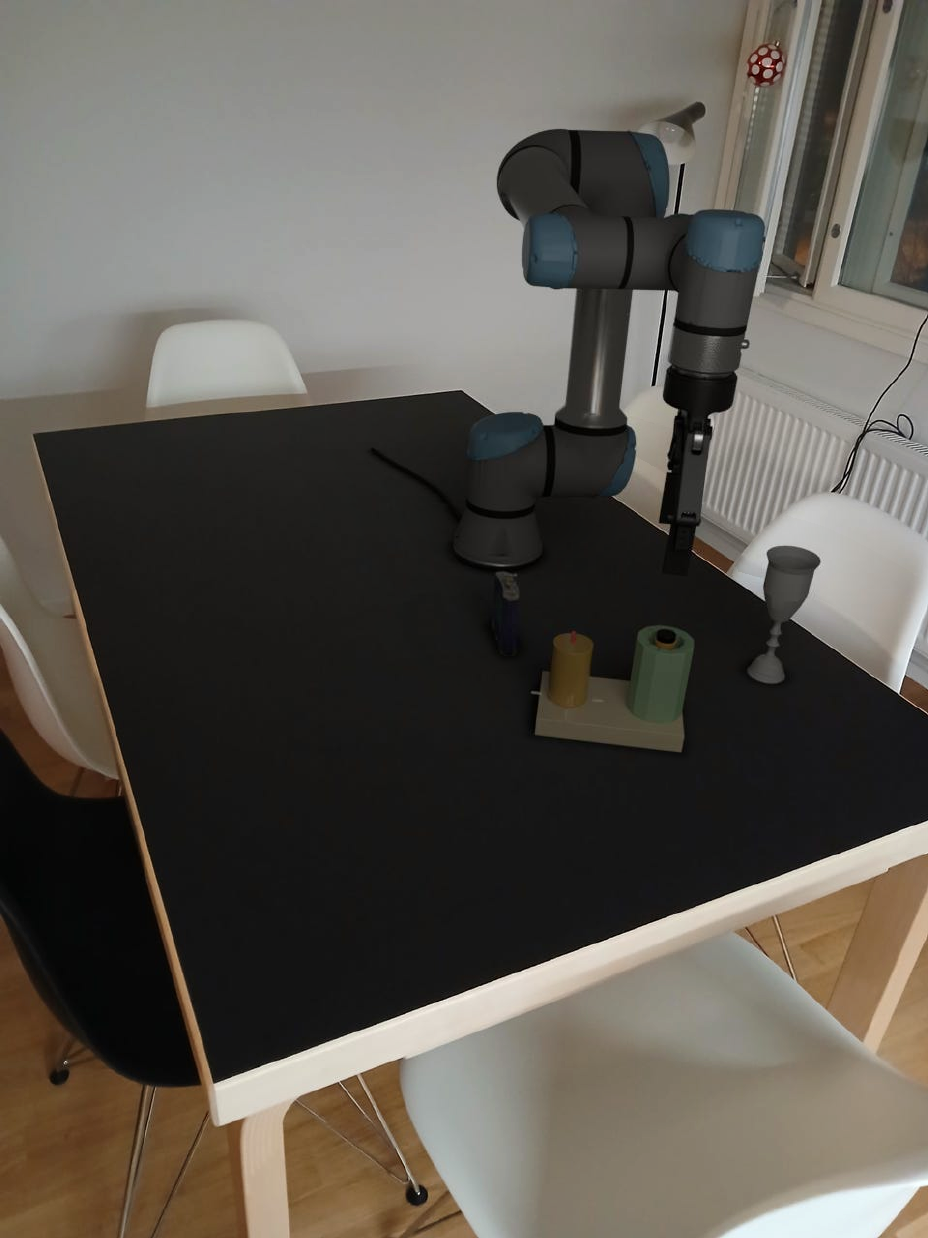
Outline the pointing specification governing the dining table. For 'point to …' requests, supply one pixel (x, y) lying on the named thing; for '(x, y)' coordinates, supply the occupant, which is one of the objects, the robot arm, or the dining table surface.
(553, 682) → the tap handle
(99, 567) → the dining table surface
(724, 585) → the dining table surface
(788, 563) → the chalice
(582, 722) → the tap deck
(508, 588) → the flask
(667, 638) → the brown tall cylinder
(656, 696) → the sleeve
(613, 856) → the dining table surface
